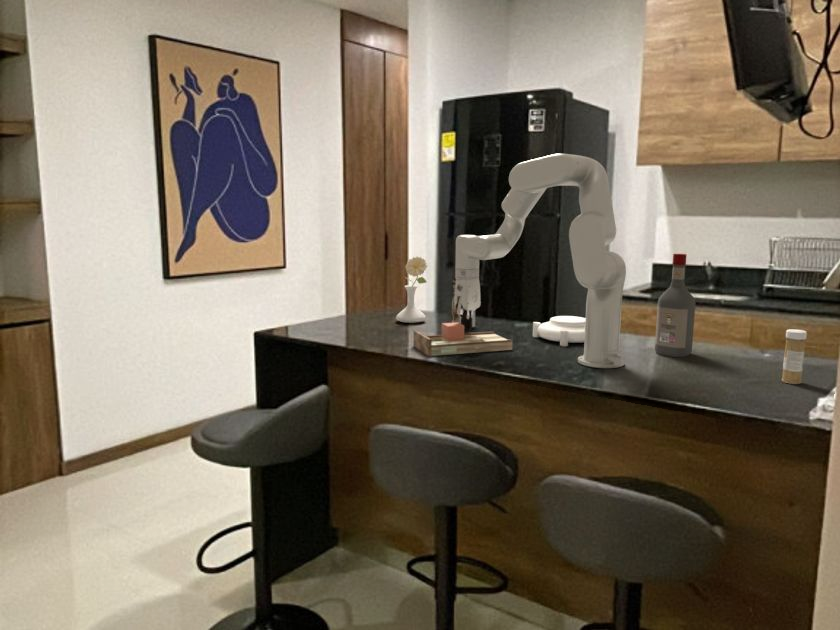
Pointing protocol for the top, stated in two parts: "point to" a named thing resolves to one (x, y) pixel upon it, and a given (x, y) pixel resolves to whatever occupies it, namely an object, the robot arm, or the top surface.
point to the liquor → (675, 315)
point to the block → (452, 331)
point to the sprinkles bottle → (794, 356)
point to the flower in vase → (413, 292)
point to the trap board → (461, 343)
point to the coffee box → (454, 311)
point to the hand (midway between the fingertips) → (466, 330)
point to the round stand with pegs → (561, 329)
